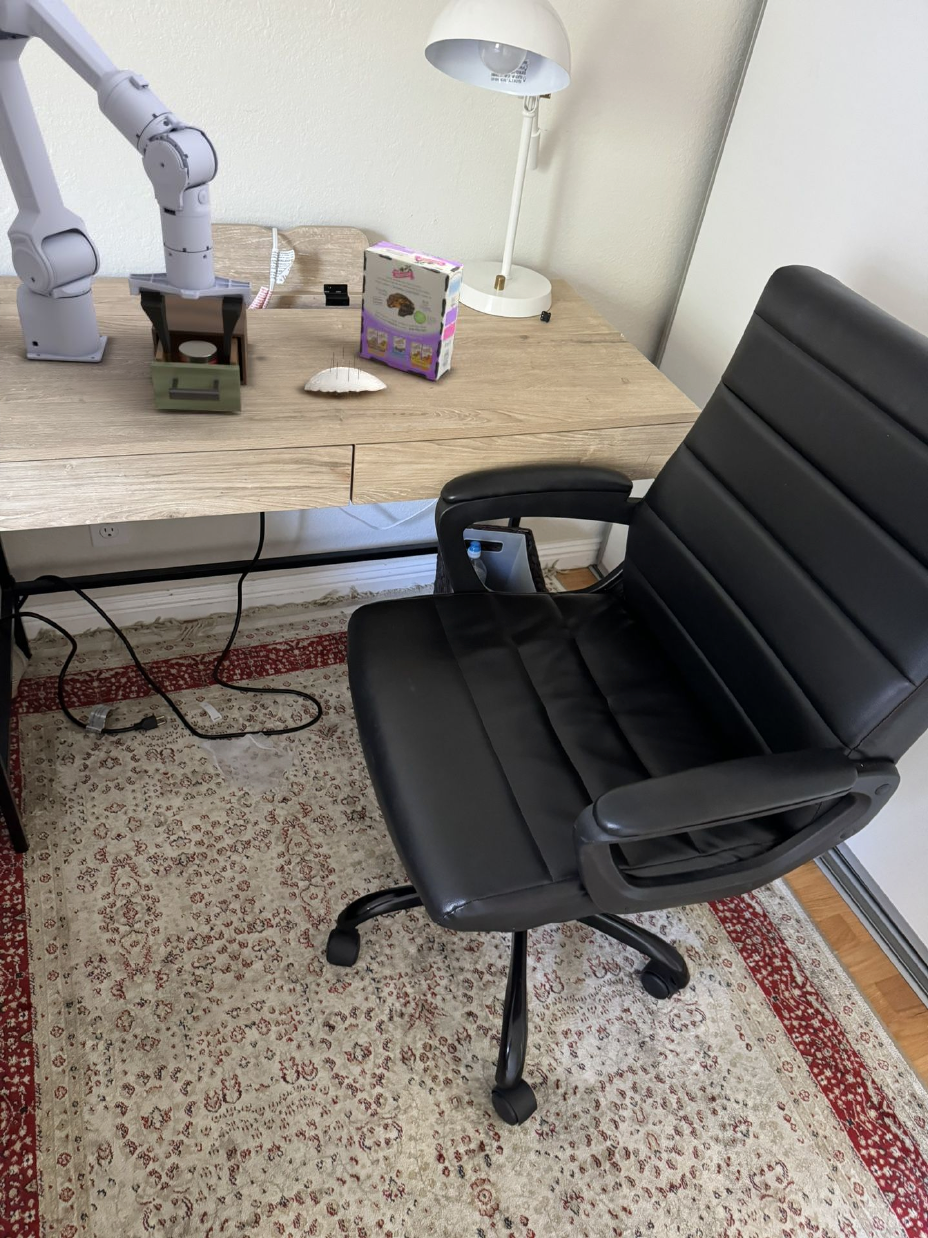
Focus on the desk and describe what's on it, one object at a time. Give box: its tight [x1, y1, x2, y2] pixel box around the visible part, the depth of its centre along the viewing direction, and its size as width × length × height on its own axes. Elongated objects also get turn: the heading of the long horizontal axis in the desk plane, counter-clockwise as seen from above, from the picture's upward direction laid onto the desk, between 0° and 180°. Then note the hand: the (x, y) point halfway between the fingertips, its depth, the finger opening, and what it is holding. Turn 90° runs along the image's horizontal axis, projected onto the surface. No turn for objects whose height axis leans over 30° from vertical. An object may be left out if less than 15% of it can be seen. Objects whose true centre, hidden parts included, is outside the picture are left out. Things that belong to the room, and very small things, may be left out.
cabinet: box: [151, 295, 249, 386], centre depth 115 cm, size 13×12×8 cm
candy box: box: [358, 240, 465, 382], centre depth 121 cm, size 14×6×16 cm, turn 65°
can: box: [179, 341, 218, 365], centre depth 108 cm, size 5×5×5 cm
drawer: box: [149, 333, 242, 412], centre depth 107 cm, size 16×11×6 cm, turn 10°
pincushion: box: [303, 347, 387, 395], centre depth 115 cm, size 12×6×6 cm, turn 106°
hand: (197, 351), depth 106 cm, fingers open, 7 cm apart
